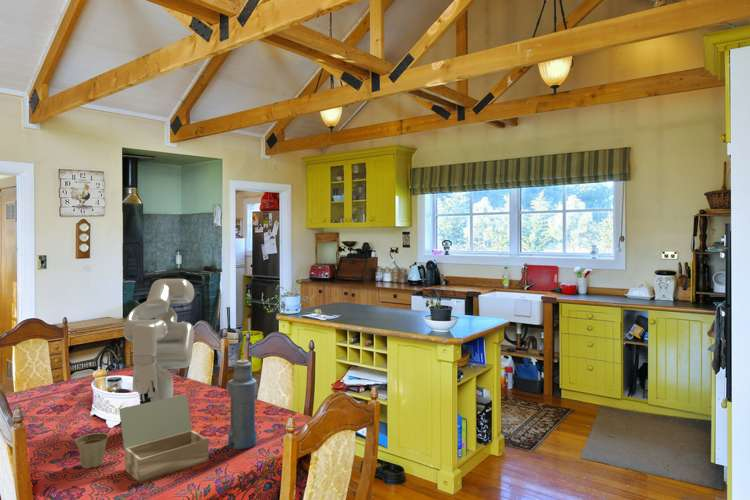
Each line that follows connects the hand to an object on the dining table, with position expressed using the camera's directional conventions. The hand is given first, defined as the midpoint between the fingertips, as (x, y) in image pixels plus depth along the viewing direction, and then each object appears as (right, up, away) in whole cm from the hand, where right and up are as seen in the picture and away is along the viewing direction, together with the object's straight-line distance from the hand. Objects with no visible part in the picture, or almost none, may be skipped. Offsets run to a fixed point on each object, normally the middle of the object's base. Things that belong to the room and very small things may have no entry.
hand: (145, 411), depth 178 cm
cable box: (+13, -14, -12) cm, 22 cm away
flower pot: (-12, -14, -12) cm, 22 cm away
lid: (+7, 0, -7) cm, 10 cm away
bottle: (+33, -13, +4) cm, 35 cm away
